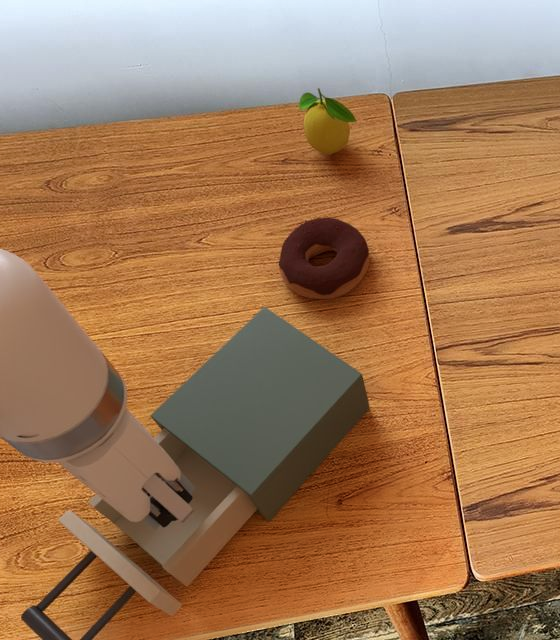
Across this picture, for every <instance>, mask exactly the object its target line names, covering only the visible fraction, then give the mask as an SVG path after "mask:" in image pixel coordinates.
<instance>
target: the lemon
mask: <svg viewBox="0 0 560 640" xmlns="http://www.w3.org/2000/svg"><path fill="white" fill-rule="evenodd" d="M317 92H318V96H319V97H317V96H316V95H315V94H313V93H311V92H305V93H302V95H301V97H300V99H299V102H298V106H297V107H298V109H299V110H300V111H305V110H306V111H305V114H304V118H303V132H304V136H305V139H306V141H307V142H308V144H309V145H310V146H311V148H312V149H314V150H315V151H316V152H319V153H322V154H324V155H333V154H336V153H339V152H340V151H342V150H343V149H344V148H345V147H346V145H347V144H348V142H349V140H350V139H349V138H350V134H351V128H350V124H349V123H357V121H358V120H357V119H356V117H355V115H354V114H353V112H352V111H351V110H350V109H349V108H348V107H347V106H345V105H344V104H343V103H342V102H339V101H338V100H336V99H334V98H331V97H328V96H327V97H326V96H325V95H323V93H322V92H321V88H319V87H317ZM323 98H324V99H323Z"/></svg>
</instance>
